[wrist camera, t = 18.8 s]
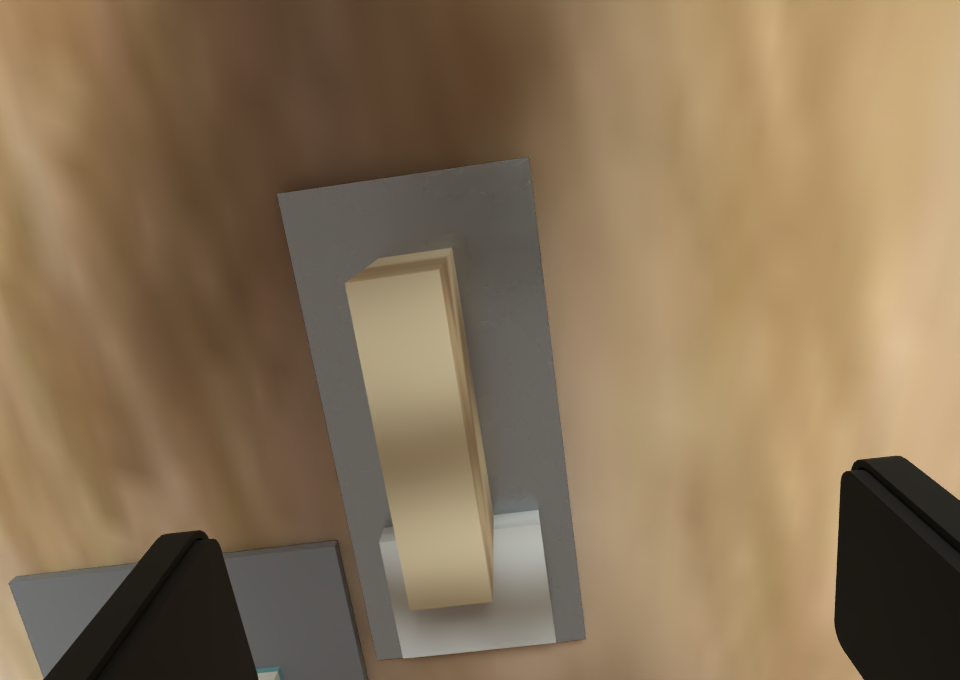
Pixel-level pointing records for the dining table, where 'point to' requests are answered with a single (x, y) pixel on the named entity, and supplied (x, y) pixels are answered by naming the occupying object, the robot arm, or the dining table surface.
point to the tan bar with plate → (441, 471)
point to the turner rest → (490, 339)
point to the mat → (260, 599)
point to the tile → (269, 673)
